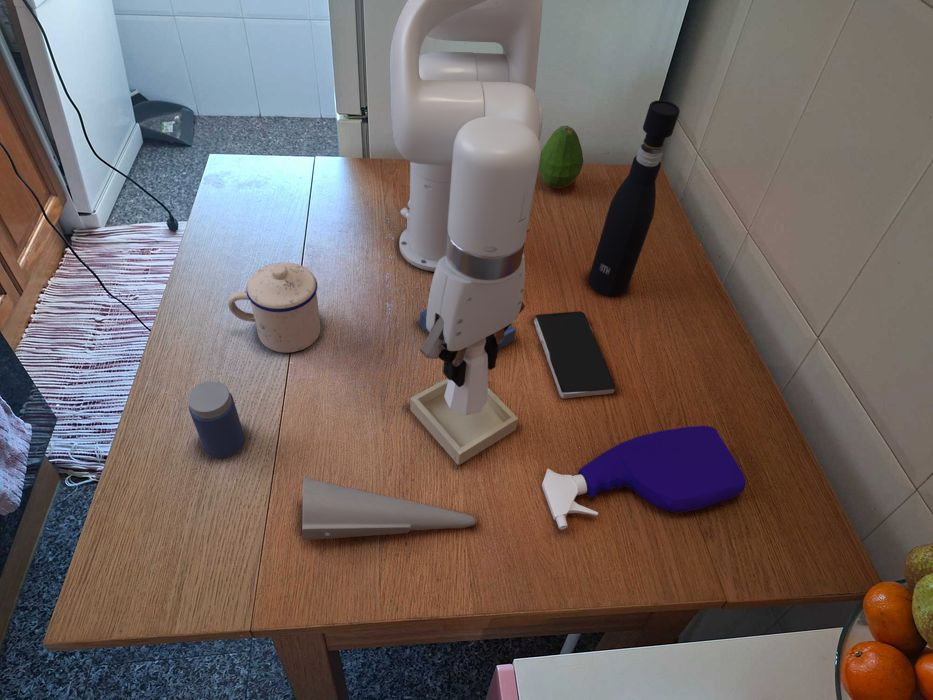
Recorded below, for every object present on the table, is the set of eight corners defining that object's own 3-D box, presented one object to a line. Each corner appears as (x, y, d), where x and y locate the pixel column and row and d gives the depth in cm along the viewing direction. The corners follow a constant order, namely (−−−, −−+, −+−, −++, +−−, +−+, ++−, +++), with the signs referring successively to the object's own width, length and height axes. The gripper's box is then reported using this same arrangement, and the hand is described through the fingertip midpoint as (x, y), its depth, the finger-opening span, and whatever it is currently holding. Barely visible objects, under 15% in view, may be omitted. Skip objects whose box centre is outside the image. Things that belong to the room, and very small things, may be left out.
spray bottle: (710, 416, 84) (532, 452, 78) (757, 489, 77) (565, 534, 71) (703, 429, 86) (529, 465, 80) (747, 501, 79) (560, 546, 73)
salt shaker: (487, 417, 79) (498, 357, 71) (443, 415, 78) (448, 354, 70) (487, 383, 82) (497, 322, 74) (444, 380, 82) (450, 319, 74)
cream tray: (409, 409, 84) (410, 397, 82) (466, 378, 88) (467, 366, 87) (458, 465, 79) (459, 454, 77) (515, 429, 83) (518, 418, 81)
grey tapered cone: (474, 464, 74) (303, 468, 70) (481, 518, 71) (302, 525, 66) (465, 485, 79) (303, 490, 75) (471, 536, 75) (302, 544, 71)
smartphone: (561, 394, 87) (533, 314, 96) (559, 399, 87) (531, 320, 97) (617, 388, 88) (584, 310, 98) (615, 393, 89) (582, 316, 99)
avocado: (533, 193, 120) (543, 134, 111) (536, 171, 125) (547, 112, 116) (575, 200, 119) (590, 141, 110) (577, 177, 125) (591, 119, 116)
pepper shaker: (197, 437, 79) (178, 391, 72) (234, 419, 81) (220, 373, 74) (213, 465, 76) (196, 420, 70) (251, 445, 79) (238, 400, 72)
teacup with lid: (324, 309, 95) (317, 246, 87) (320, 355, 89) (312, 293, 80) (241, 308, 94) (225, 245, 85) (230, 355, 88) (212, 292, 79)
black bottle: (626, 272, 106) (686, 98, 84) (629, 299, 102) (693, 122, 80) (587, 268, 106) (637, 92, 84) (588, 294, 102) (642, 116, 80)
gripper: (523, 202, 69) (502, 323, 82) (391, 256, 61) (392, 380, 74) (572, 239, 65) (542, 360, 78) (438, 302, 57) (430, 424, 71)
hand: (469, 369), depth 76 cm, fingers closed on salt shaker, 4 cm apart
